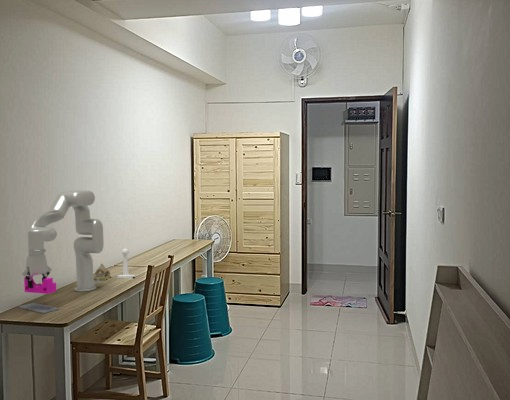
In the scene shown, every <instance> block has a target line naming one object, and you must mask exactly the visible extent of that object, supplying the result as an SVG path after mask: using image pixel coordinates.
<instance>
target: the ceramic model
mask: <svg viewBox="0 0 510 400" xmlns="http://www.w3.org/2000/svg"><path fill="white" fill-rule="evenodd" d="M110 274H111V271H109V269H108V268H106V266H105V265H104V264H103V263H100V265H99V267H98V268H96V270H95V274H94V276H93V281H94V280H95V281H100V280H102V281H107V280H109V279H111V278H112V277H111V276H112V275H110ZM110 277H111V278H110ZM108 278H109V279H108ZM106 279H107V280H106ZM100 282H101V281H100Z"/></svg>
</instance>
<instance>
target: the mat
mask: <svg viewBox="0 0 510 400" xmlns="http://www.w3.org/2000/svg"><path fill="white" fill-rule="evenodd" d="M18 308H19V309H23V310H27V309H28V310H27V311H31V310H32V311H31V312H34V313H35V312H36V313H39V314H47V313H52V312H55V311H59V310H60V308H59V307H54V306H50V305H47V304H41V303H38V302H32V303H28V304H23V305H19V306H18Z"/></svg>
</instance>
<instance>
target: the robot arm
mask: <svg viewBox="0 0 510 400" xmlns="http://www.w3.org/2000/svg"><path fill="white" fill-rule="evenodd" d="M95 200H96V196H95V194H94V192H93V191H92V190H67V191H61V192H59V194H58V195H57V196H56V199H54V202H53V204H52V205H51V207H50V208H49V210H47V211H46V212H44V213H42V215H40V216H38V217H37V218H36V219H35V220H34V222H33V223H32V225H31V227H30V228H29V229H28V231H27V248H28V250H27V251H28V255H27V256H26V260H25V270H24V271H23V272H22V273H21V276H22V277H23V279H24V278H25V279H26V280H28V288H33V281H32V278H33V277H34V276H39V275H41V276H42V278H41V284H42V283H43V279H45V278H49V275H50V274H51V271H52V268H51V267H49V266H48V262H47V261H48V260H47V257H46V254H45V252H46V251H47V250H46V249H45V248H44V247H45V245H44V244H45V242H52V241H54V240H55V239H56V238H57V236H58V233H57V230H56V229H55V228H53V227H51V226H50V227H48V225H51V224H54V223H56V222H59V221H62V220H63V219H64V218H65V216H66V214H67V213H68V211H69V209H70V207H72V209H73V211H74V218H75V219H74V220H75V232H76V233H77V234H78V235H81V236H80V237H76V239H74V242H73V249H74V255H75V268H76V269H75V271H76V273H75V274H76V287H74V292H82V293H83V292H90V291H95V290H96V289H97V286H96V285H99V284H101V281H94V280H93V279H94V263H93V262H94V260H93V257H92V254H100V253H102V251H103V249H104V226H103V223H102V220H101V219H97V218H91V212H90V208H89V206H91V205H93V204H94V203H95ZM82 235H84V236H82ZM33 279H34V278H33Z"/></svg>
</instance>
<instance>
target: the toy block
mask: <svg viewBox="0 0 510 400" xmlns="http://www.w3.org/2000/svg"><path fill="white" fill-rule="evenodd" d="M32 281H33V288H28V280H26V279H25V278H24V277H23V282H24V285H23V286H24V293H34V294H43V295H44V294H45V295H46V294H47V295H48V294H49V295H50V294H52V293H55V292H57V282H54V279H53V277H47V278H45V279H43V283H42V282H41V283H36V282H35V280H34V278H32Z"/></svg>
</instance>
